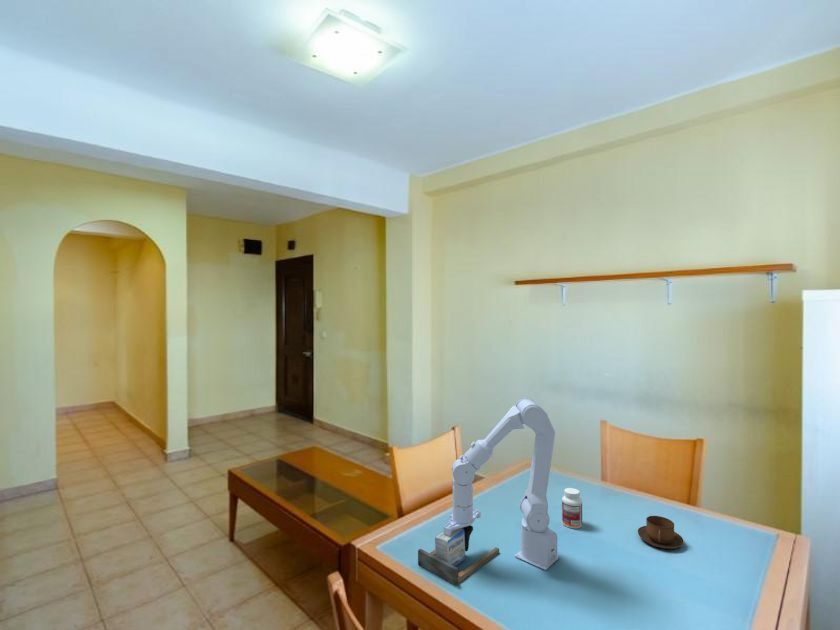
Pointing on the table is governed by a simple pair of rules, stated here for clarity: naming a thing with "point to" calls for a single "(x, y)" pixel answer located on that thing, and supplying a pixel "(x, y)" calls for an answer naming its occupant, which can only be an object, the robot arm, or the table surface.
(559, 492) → the table surface
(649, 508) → the table surface
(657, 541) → the cup and saucer
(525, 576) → the table surface
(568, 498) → the pill bottle
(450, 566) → the u-shaped wooden frame
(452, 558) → the medicine box
